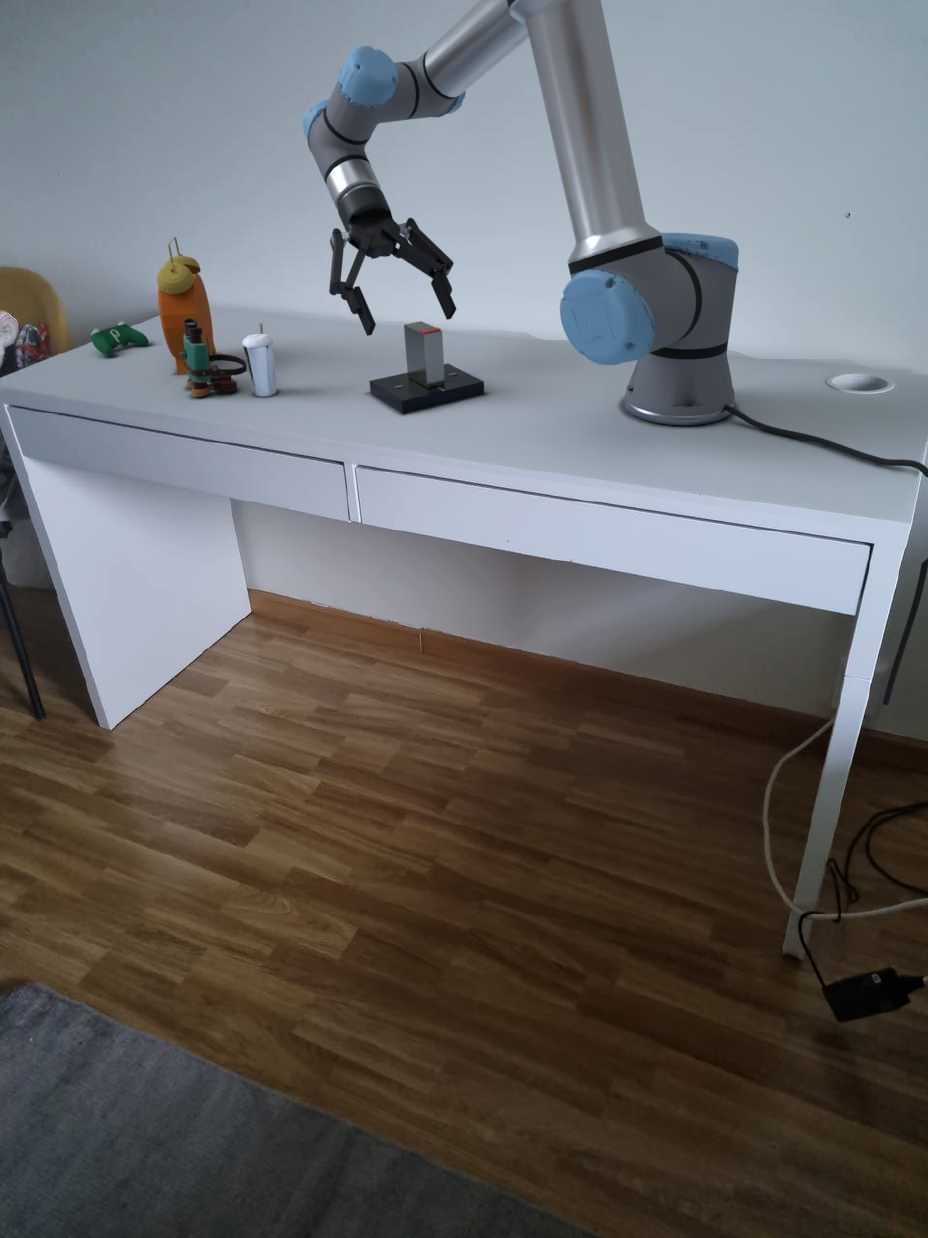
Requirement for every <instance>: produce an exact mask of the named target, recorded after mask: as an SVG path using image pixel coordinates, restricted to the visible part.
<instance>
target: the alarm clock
mask: <svg viewBox="0 0 928 1238" xmlns="http://www.w3.org/2000/svg"><path fill="white" fill-rule="evenodd" d="M173 241H174V243H175V247H176V252H177V255H176V256H173V252H172V248H171V244H172V242H173ZM167 247H168V253H169V257H170V258H168V259H167V260H166V262H165V264H164V266H162V267H161V268H160V270H159V271H158V272H157V275H156V283H157V288H158V289H157V290H158V291H157V297H158V298H157V303H158V311H159V312H158V313H159V319H160V324H161V329H162V332H163V336H164V340H165V343H166V346H167V349H168V350H169V353H170V354H171V356H172V357H173V358H174V360H175V365H176V366H175V367H176V373H177V375H188V374H187V372H186V367H185V365H184V360H185V359H184V358H182V357H180V356H179V352H180V351H184V334H185V333H186V329H185V327H184V325H183V320H184V319H187V318H192V319H195V320H197V327H196V328H202V334H201V340H203V341H204V342H205V343H206V344H207V349H208V352H209V355H214V354H218V353H217V348H216V345H215V342H214V330H213V322H212V321H213V320H212V313H211V308H210V302H209V299H208V298H209V297H208V294H207V291H206V287H205V284H204V281H203V280H202V277H201V275H200V272H201V271H202V269H201V266H200V264H199V262H198V261H197V260H196V259H195V258H193V257H191V256H187V255H184V254H182V253H180V248H179V245H178V240H177V236H173V238H172V239H171V240H170V241H169V242H168V244H167ZM211 366H212V362H210V368H211Z"/></svg>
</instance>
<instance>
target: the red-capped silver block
mask: <svg viewBox="0 0 928 1238" xmlns="http://www.w3.org/2000/svg"><path fill="white" fill-rule="evenodd" d="M403 330H404V332H403V333H404V343H405V357H406V370H407V371H406V373H407V372H408V377H409V378H411V379H412V380H414V381H416V382H417V383H419V384H421V385H422V386H424V387H426V388H432V387H436V386H440V385H445V377H444V364H445V363H444V362H445V361H444V360H445V359H444V358H445V357H444V343H443V340H444V339H443V331H442V330H441V328H440V327H435V326H432V325H430V324H428V323H427V322H424V321H415V322H411V323H406V324H403Z"/></svg>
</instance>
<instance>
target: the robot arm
mask: <svg viewBox="0 0 928 1238" xmlns="http://www.w3.org/2000/svg"><path fill="white" fill-rule="evenodd" d="M528 40H529V43H530V47H531V51H532V56H533V59H534V65H535V69H536V73H537V77H538V82H539V86H540V91H541V95H542V99H543V105H544V108H545V113H546V116H547V118H546V119H547V122H548V127H549V130H550V135H551V139H552V144H553V148H554V152H555V157H556V162H557V166H558V170H559V174H560V179H561V184H562V188H563V193H564V197H565V201H566V206H567V210H568V214H569V218H570V223H571V228H572V232H573V236H574V237H573V238H574V241H575V244H574V247H573V250H572V252H571V254H570V255H569V257H568V259H567V267H568V271H569V275H570V276H569V277H570V278H571V279H570V280H569V281H568V283H566V285H565V287H564V289H563V291H562V295H563V296H562V298H561V299H560V302H559V317H560V321H561V325H562V328H563V331H564V333H565V336H566V337H567V339H568V341H569V342H570V344H571V345H572V347H573V348H574V349H575V351H576V352H578V353H579V354H580V355H583V356H585V357H586V359H587V360H589V361H591V362H593V363H595V364H598V365H603V366H617V365H621V364H623V363H629V362H634V361H636V363H635V366H634V368H633V372H632V373H631V377H630V379H629V381H628V384H627V386H626V388H625V389H626V390H625V394H624V408H625V410H626V411H627V412H629V413H630V414H631V415H632V416H634V417H636V418H639V419H640V420H644V421H647V422H652V423H656V424H662V425H670V426H671V425H672V426H698V425H699V426H700V425H705V424H711V423H714V422H718V421H721V420H723V419H725V418H728V416H730V415H733V416H735V417H737V418H739V419H741V420H742V421H744V422H745V423H747V424H749V425H750V426H752V427H754V428H756V429H760V430H762V431H765V432H768V433H772V434H776V435H779V436H784V437H789V438H794V439H799V440H804V441H806V442H807V441H808V442H811V443H815V444H818V445H822V446H825V447H828V448H831V449H833V450H836V451H839V452H841V453H845V454H848V455H850V456H852V457H855V458H859V459H861V460H864V461H867V462H871V463H874V464H878V465H881V466H890V467H911V468H914V469H916V470H918V471H920V472H921V473H922V474H923V475H924V477H925V478H928V467H927V466H926V465H924V464H923V463H921V462H920V461H916V460H913V459H903V458H902V459H899V458H898V459H897V458H895V459H892V458H885V457H884V458H883V457H879V456H877V455H873V454H869V453H867V452H863V451H861V450H857V449H854V448H852V447H849V446H846V445H843V444H840V443H838V442H835V441H832V440H829V439H826V438H822V437H820V436H816V435H813V434H812V435H811V434H809V433H804V432H799V431H793V430H789V429H785V428H779V427H776V426H771V425H769V424H765V423H763V422H760V421H757V420H755V419H753V418H751V417H750V416H748V415H746V414H745V413H743V412H742V411H740V410H738V409H736V408H734V406H735V390H734V389H735V388H734V387H733V386H734V385H733V381H732V379H733V378H732V375H731V369H730V365H729V364H730V363H729V360H728V346H729V339H730V331H731V324H732V317H733V310H734V309H733V308H734V301H735V292H736V285H737V279H738V274H739V271H740V270H739V269H740V268H739V255H740V249H739V246H738V244H737V243H736V242H735V241H734V240H733V239H730V238H727V237H723V236H716V235H709V234H700V233H689V232H688V233H687V232H661V231H659V230H658V229H656V228H655V227H653V226H651V225H650V224H649V223H648V222H647V221H646V216H645V212H644V207H643V202H642V196H641V193H640V188H639V183H638V177H637V173H636V168H635V162H634V158H633V151H632V148H631V143H630V138H629V132H628V128H627V127H628V126H627V123H626V117H625V114H624V113H625V112H624V107H623V103H622V97H621V94H620V93H621V92H620V89H619V83H618V78H617V73H616V68H615V64H614V58H613V54H612V48H611V43H610V38H609V34H608V29H607V23H606V19H605V14H604V9H603V4H602V0H479V1H478V2H477V3H475V5H473V6H472V7H471V8H470V9H469V10H468V11H467V12H466V13H465V14H464V15H463V16H462V17H461V18H460V19H459V20H458V21H457V22H456V23H454V24H453V25H452V26H451V27H450V28H449V29H448V30H447V31H446V32H445V33H444V34H443V35H442V36H441V37H440V38H439V39H438V40H437V41H435V42H434V43H433V44H432V45H431V46H430V47H429V48H427V50H426V51H425V52H424V53H422V54H421V55H420V56H419V57H418V58H417V59H415V60H409V61H398V62H397V61H396V62H394V60H393V59H392V58H391V57H390V56H389V55H388V54H387V53H386V52H384V51H383V50H381V49H379V48H376V49H374V48H373V47H372V46H371V45H360V46H358V47H356V48H354V49H353V50H352V51H351V52H350V54H349V57H348V58H347V60H346V62H345V64H344V65H343V66H342V68H341V69H340V72H339V75H338V78H337V81H336V84H335V85H334V87H333V90H332V92H331V95H330V97H329V99H323V100H320V101H318V102H316V103H314V104H313V105H312V108H311V109H309V110H307V111H306V113H305V114H304V116H303V121H302V130H303V133H304V135H305V138H306V141H307V145H308V149H309V152H310V153H311V154H312V157H313V159H314V162H315V163H316V165H317V168H318V170H319V172H320V175H321V176H322V179H323V181H324V183H325V186H326V188H327V190H328V193H329V195H330V197H331V199H332V202H333V204H334V207H335V208H336V210H337V213H338V216H339V218H340V221H341V223H342V225H343V228H344V230H345V231H342V230H341V229H339V228H337V227H335V228H333V229H332V232H331V236H330V239H329V244H330V247H331V250H332V255H331V256H332V257H331V267H330V277H329V287H328V288H329V289H328V293H329V294H330V295H331V296H336V295H340V298H341V299H342V300H343V301H346V303H347V305H348V308H349V310H350V312H351V313H352V314H353V315H358V318H359V320H360V323H361V326H362V327H363V330H364V332H365V334H366V336H367V337H368V336H372V335H373V333H374V330H375V328H376V327H377V324H376V321H375V319H374V317H373V315H372V312H371V310H370V307H369V305H368V303H367V301H366V297H365V295H364V293H363V290H362V289H361V286H360V285H358V286H355V283H356V282H357V278H358V275H359V272H360V271H361V268H362V265H363V263H364V261H365V258H366V257H367V258H370V259H371V260H375V259H378V258H380V257H381V258H382V257H383V258H386V257H390V256H391V255H392V256H393V257H394V258H396V259H402V260H403V261H405V262H406V263H408V264H409V265H411V266H413V267H414V268H415V269H417V270H418V271H420V272H421V273H423V274H424V275H426V276H428V277H429V278H430V279H432V280H431V282H430V285H431V287H432V289H433V292H434V294H435V296H436V298H437V299H436V300H437V301H438V303H439V305H440V309H441V310H442V313H443V314H444V318H445V319H446V320H448V321H449V320H452V318H453V316H454V314H455V313H456V311H457V306H456V304H455V302H454V299H453V297H452V295H451V294H452V293H453V287H452V285H451V282H450V280H449V278H448V276H449V274H450V272H451V271H452V268H453V266H454V264H455V263H454V261H453V259H451V257H449V256H448V255H447V254H446V253H445V252H444V251H443V250H442V249H441V248H440V247H439V246H438V245H437V244H436V243H435V242H433V241H432V240H431V238H430V237H429V236H427V235H426V234H425V233H424V232H423V231H422V230H421V229H420V227H419V226H418V223H417V222H416V220H415V219H414V218H413V217H408V218H407V219H406V222H403V223H398V222H396V221H395V220H394V218H393V213H392V211H391V208H390V206H389V203H388V201H387V199H386V196H385V194H384V192H383V191H382V188H381V184H380V182H379V180H378V178H377V176H376V174H375V172H374V169H373V168H372V164H371V162H370V160H369V158H368V155H367V153H366V151H365V148H366V145H367V144H368V142H370V139H371V138H372V135H373V133H374V131H375V129H376V128H377V126H378V125H379V124H385V123H392V122H401V121H408V120H409V121H411V120H418V119H427V118H442V117H444V116H446V115H451V114H454V113H456V111H458V110H460V108H461V107H462V104H463V102H464V99H465V98H466V94H467V91H468V89H469V88H471V87H472V86H473V85H474V84H475V83H477V82H478V81H479V80H481V79H482V78H483V77H484V76H485V75H487V74H488V72H490V71H491V70H493V68H495V67H496V66H497V65H499V63H501V62H502V61H504V60H505V59H506V58H507V57H508V56H509V55H511V54H512V53H513V52H514V51H516V49H518V48H519V47H521V46H522V45H523V44H524V43H525V42H527V41H528ZM347 243H349V244H350V245H351V246H352V247H353V248H354V249H356V250H357V253H356V255H355V257H354V260H353V263H352V265H351V268H350V270H349V273H348V275H347V277H346V280H345V281H342V271H343V261H344V250H345V247H346V246H347ZM397 244H398V245H399V247H397ZM927 573H928V557H927V558H926V559H925V560H924V561H922V562H921V563H920V571H919V575H918V579H917V584H916V588H915V592H914V595H913V600H912V603H911V608H910V611H909V614H908V617H907V621H906V623H905V626H904V629H903V633H902V635H901V636H902V637H901V639H900V642H899V645H898V647H897V651H896V655H895V658H894V661H893V664H892V667H891V671H890V674H889V678H888V681H887V684H886V688H885V692H884V696H883V700H882V704H883V705H884V706H889V704H890V701H891V696H892V693H893V688H894V685H895V682H896V680H897V679H896V678H897V675H898V672H899V668H900V665H901V663H902V659H903V656H904V653H905V650H906V647H907V643H908V642H909V641H908V640H909V637H910V635H911V632H912V629H913V626H914V624H915V623H914V622H915V619H916V616H917V613H918V610H919V606H920V603H921V598H922V595H923V591H924V587H925V582H926V578H927Z"/></svg>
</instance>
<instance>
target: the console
mask: <svg viewBox="0 0 928 1238" xmlns="http://www.w3.org/2000/svg"><path fill="white" fill-rule="evenodd" d="M444 377H445V385H440V386H436V387H432V388H426V387H424V386H422V385H421V384H419V383H417V382H416V381H414V380H412V379H411V378H409V377H408V372H407V371H406V372H403V373H398V374H394V375H390V376H385V377H381V378H376V379H371V380H369V390H370V391H369V392H370V394H371V395H373V396H374V397H375V398H377V399H378V400H380V401H382V402H384V403H385V404H386V405H388V406H390V407H392V408H393V409H394V410H396V411H398V412H399V413H401V414H402V415H404V414H409V413H413V412H416V411H421V410H425V409H429V408H434V407H438V406H441V405H445V404H446V405H447V404H449V403H454V402H459V401H462V400H466V399H471V398H474V397H479V396H482V395H485V381H483V380H482V379H480V378H478V377H475V376H473V375H472V374H470V373H468V372H466V371H464V370H462V369H461V368H458V367H456V366H455V365H453V364H450V363H444Z"/></svg>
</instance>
